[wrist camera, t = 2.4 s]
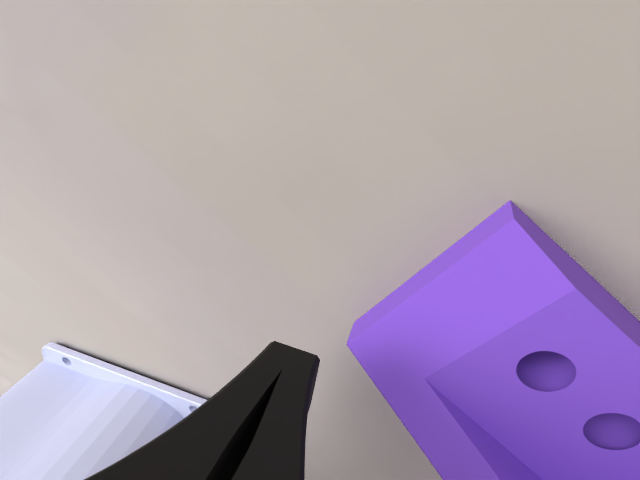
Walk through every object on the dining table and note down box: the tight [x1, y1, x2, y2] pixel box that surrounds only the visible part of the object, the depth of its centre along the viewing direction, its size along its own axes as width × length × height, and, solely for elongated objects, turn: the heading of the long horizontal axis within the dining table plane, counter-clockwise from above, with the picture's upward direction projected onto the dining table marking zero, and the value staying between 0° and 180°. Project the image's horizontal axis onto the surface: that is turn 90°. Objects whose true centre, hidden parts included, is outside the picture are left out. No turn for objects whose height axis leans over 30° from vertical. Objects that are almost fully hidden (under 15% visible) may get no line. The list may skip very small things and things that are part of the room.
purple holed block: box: [347, 200, 640, 480], centre depth 12 cm, size 12×7×7 cm, turn 52°
